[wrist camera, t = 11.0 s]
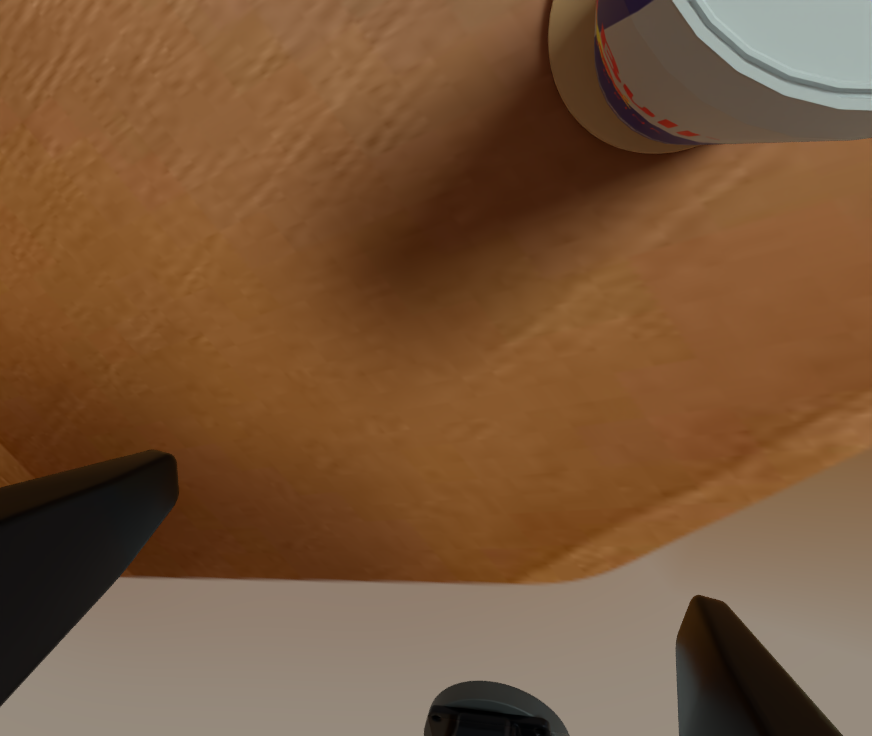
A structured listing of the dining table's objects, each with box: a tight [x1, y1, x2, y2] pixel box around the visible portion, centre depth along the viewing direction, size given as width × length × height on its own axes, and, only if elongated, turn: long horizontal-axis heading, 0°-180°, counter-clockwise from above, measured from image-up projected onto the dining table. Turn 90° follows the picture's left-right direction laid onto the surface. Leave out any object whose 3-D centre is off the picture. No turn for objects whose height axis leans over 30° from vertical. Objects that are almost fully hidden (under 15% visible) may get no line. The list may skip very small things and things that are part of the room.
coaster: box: [548, 0, 699, 154], centre depth 15 cm, size 7×7×1 cm
